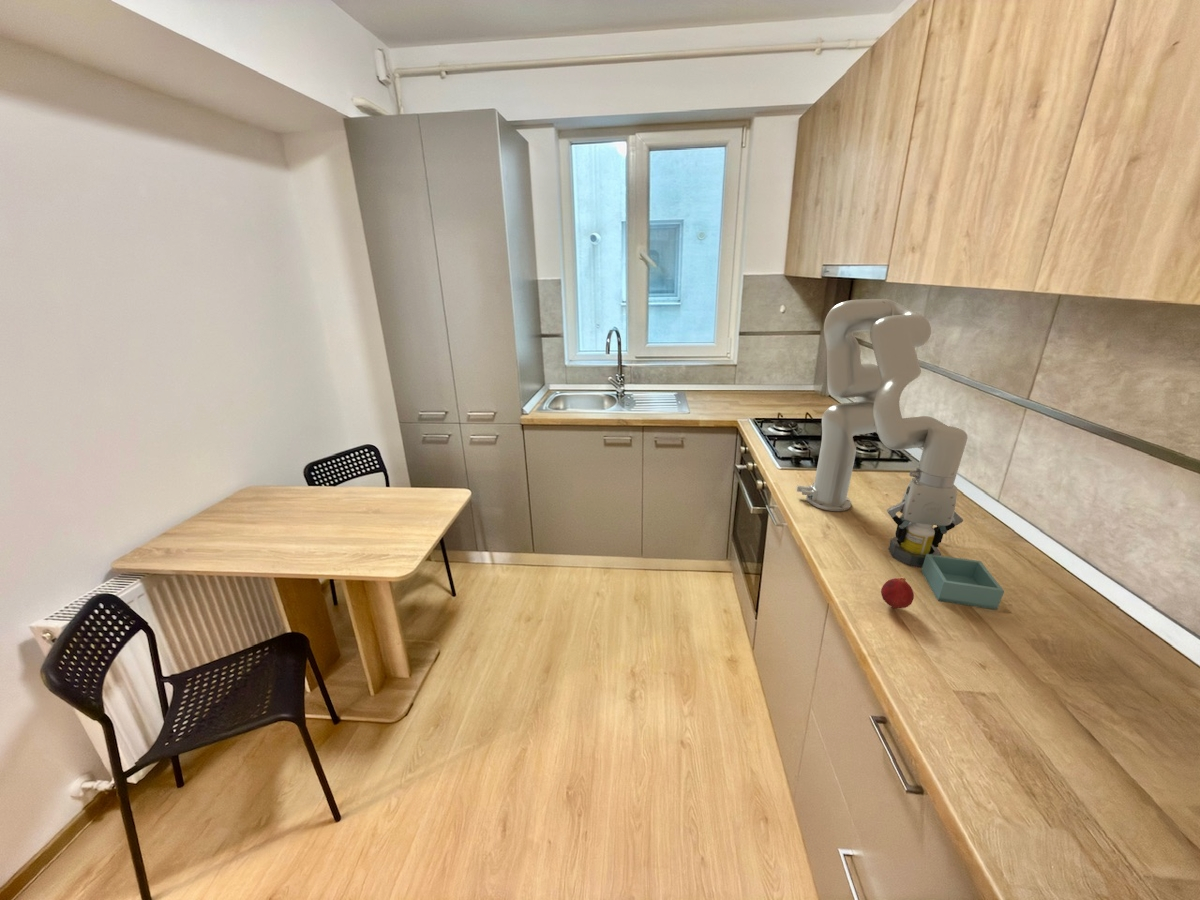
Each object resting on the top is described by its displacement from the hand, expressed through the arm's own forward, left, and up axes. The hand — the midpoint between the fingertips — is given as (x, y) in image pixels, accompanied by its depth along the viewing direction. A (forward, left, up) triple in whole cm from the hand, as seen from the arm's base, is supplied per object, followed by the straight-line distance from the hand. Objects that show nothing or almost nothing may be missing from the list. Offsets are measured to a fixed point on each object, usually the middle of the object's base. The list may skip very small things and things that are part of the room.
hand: (916, 541), depth 117 cm
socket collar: (0, 0, -4) cm, 4 cm away
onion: (-10, -22, -4) cm, 25 cm away
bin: (+5, -12, -4) cm, 14 cm away
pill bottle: (0, 0, -5) cm, 5 cm away
